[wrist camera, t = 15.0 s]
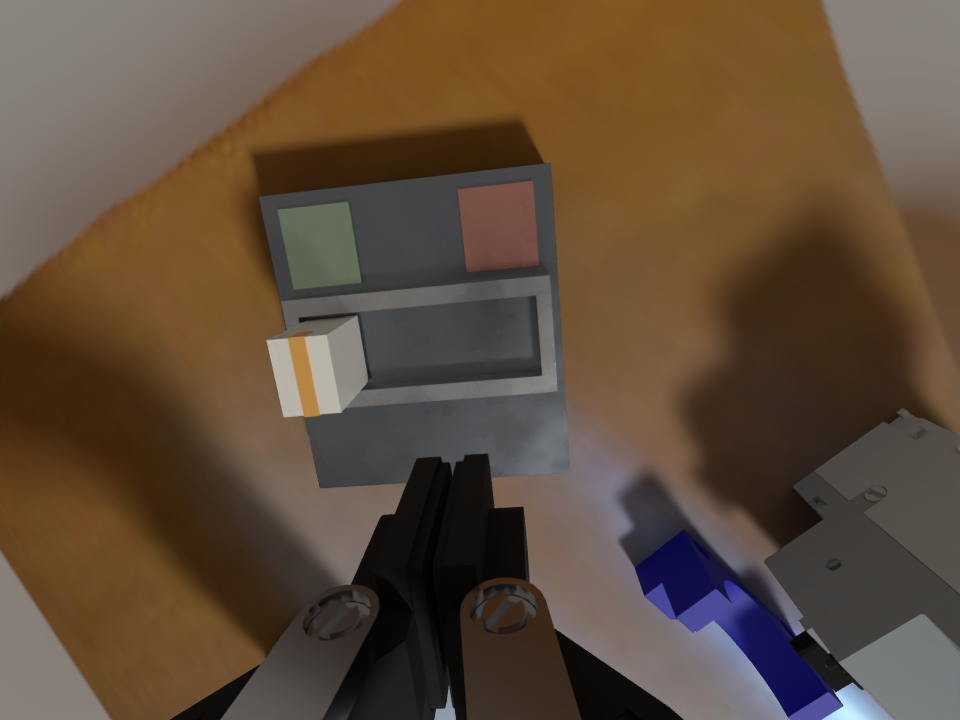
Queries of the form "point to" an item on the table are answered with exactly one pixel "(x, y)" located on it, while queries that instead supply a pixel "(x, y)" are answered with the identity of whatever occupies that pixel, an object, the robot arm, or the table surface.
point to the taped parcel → (318, 366)
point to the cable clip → (734, 622)
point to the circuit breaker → (883, 569)
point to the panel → (432, 319)
